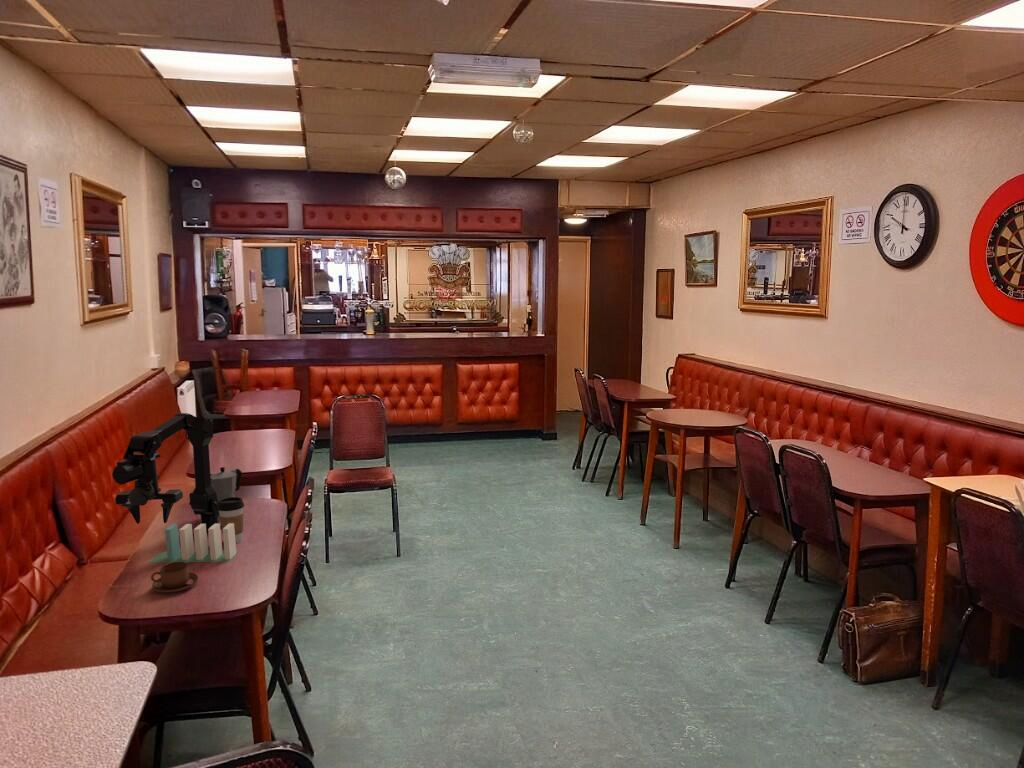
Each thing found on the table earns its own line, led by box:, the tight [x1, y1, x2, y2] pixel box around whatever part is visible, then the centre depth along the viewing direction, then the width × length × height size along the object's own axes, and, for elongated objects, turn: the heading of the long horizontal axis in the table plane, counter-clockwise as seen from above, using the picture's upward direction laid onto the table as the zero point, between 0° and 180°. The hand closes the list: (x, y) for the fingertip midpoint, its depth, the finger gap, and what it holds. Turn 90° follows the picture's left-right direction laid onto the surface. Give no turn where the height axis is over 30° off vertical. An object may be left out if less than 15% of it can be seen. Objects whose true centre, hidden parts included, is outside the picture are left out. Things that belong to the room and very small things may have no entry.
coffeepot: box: [210, 467, 243, 517], centre depth 272 cm, size 15×9×18 cm, turn 154°
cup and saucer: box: [150, 562, 199, 594], centre depth 210 cm, size 12×12×6 cm
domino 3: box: [193, 523, 209, 560], centre depth 230 cm, size 5×2×10 cm, turn 179°
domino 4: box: [207, 523, 223, 560], centre depth 230 cm, size 5×2×10 cm, turn 179°
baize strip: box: [148, 551, 240, 564], centre depth 231 cm, size 8×26×1 cm, turn 89°
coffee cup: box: [217, 496, 245, 545], centre depth 242 cm, size 8×8×15 cm
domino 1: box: [164, 523, 181, 560], centre depth 230 cm, size 5×2×10 cm, turn 179°
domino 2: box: [178, 523, 195, 560], centre depth 230 cm, size 5×2×10 cm, turn 179°
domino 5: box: [222, 523, 237, 560], centre depth 230 cm, size 5×2×10 cm, turn 179°
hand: (151, 523), depth 229 cm, fingers open, 8 cm apart
